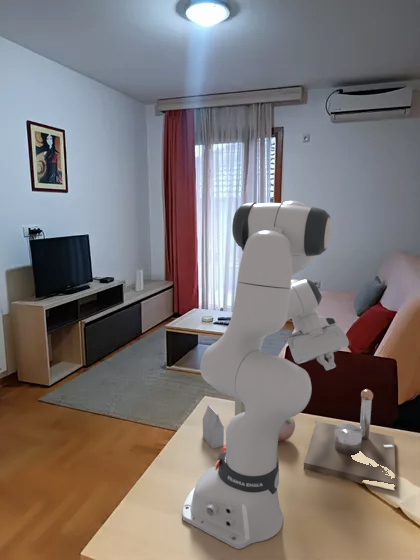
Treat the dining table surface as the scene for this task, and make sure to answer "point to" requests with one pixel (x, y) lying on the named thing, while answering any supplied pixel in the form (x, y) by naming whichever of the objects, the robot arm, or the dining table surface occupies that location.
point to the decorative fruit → (286, 429)
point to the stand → (342, 465)
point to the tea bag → (213, 428)
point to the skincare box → (239, 407)
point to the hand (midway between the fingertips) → (331, 368)
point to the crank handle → (355, 428)
